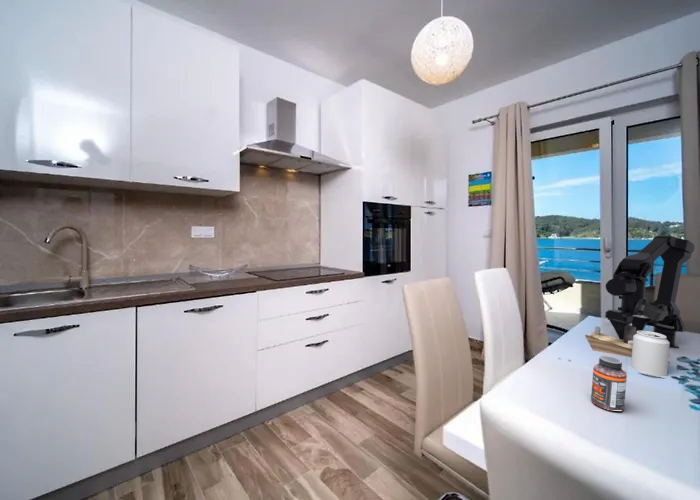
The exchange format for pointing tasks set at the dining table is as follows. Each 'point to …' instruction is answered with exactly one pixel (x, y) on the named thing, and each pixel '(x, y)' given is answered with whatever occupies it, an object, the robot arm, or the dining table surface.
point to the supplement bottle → (609, 384)
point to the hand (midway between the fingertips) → (629, 338)
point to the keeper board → (610, 347)
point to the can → (650, 353)
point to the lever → (624, 343)
